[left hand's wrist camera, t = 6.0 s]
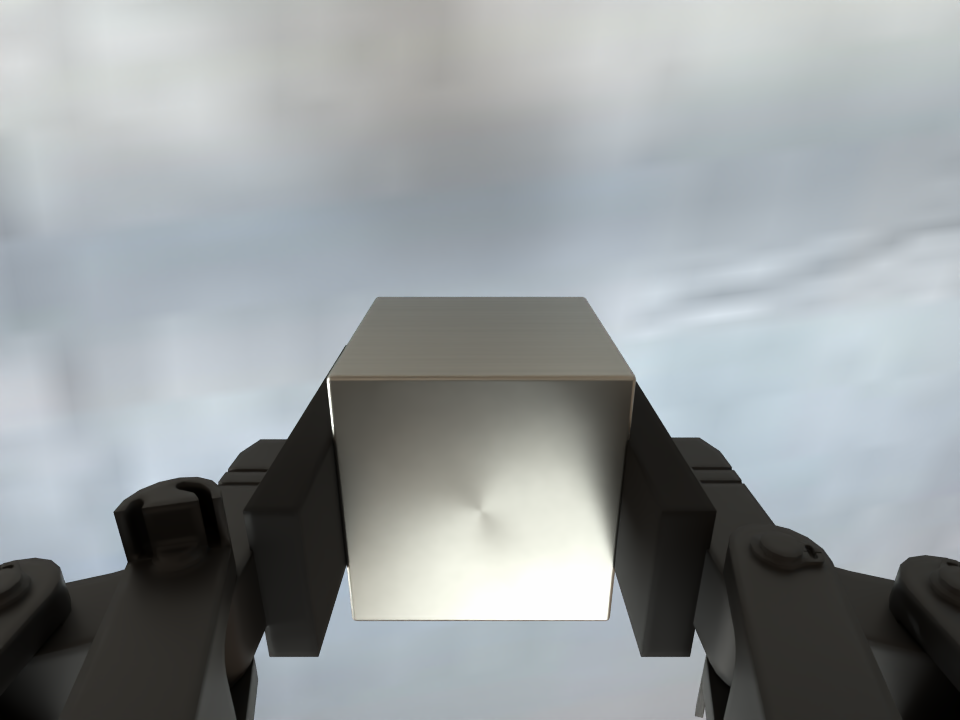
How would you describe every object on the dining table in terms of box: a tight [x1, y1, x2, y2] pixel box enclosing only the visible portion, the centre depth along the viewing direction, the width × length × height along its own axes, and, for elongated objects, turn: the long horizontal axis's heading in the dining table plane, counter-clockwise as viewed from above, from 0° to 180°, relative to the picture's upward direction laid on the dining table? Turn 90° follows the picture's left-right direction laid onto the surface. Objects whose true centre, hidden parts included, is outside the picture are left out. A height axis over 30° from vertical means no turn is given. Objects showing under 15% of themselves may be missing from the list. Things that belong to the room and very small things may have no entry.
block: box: [327, 297, 636, 621], centre depth 12 cm, size 5×5×5 cm
